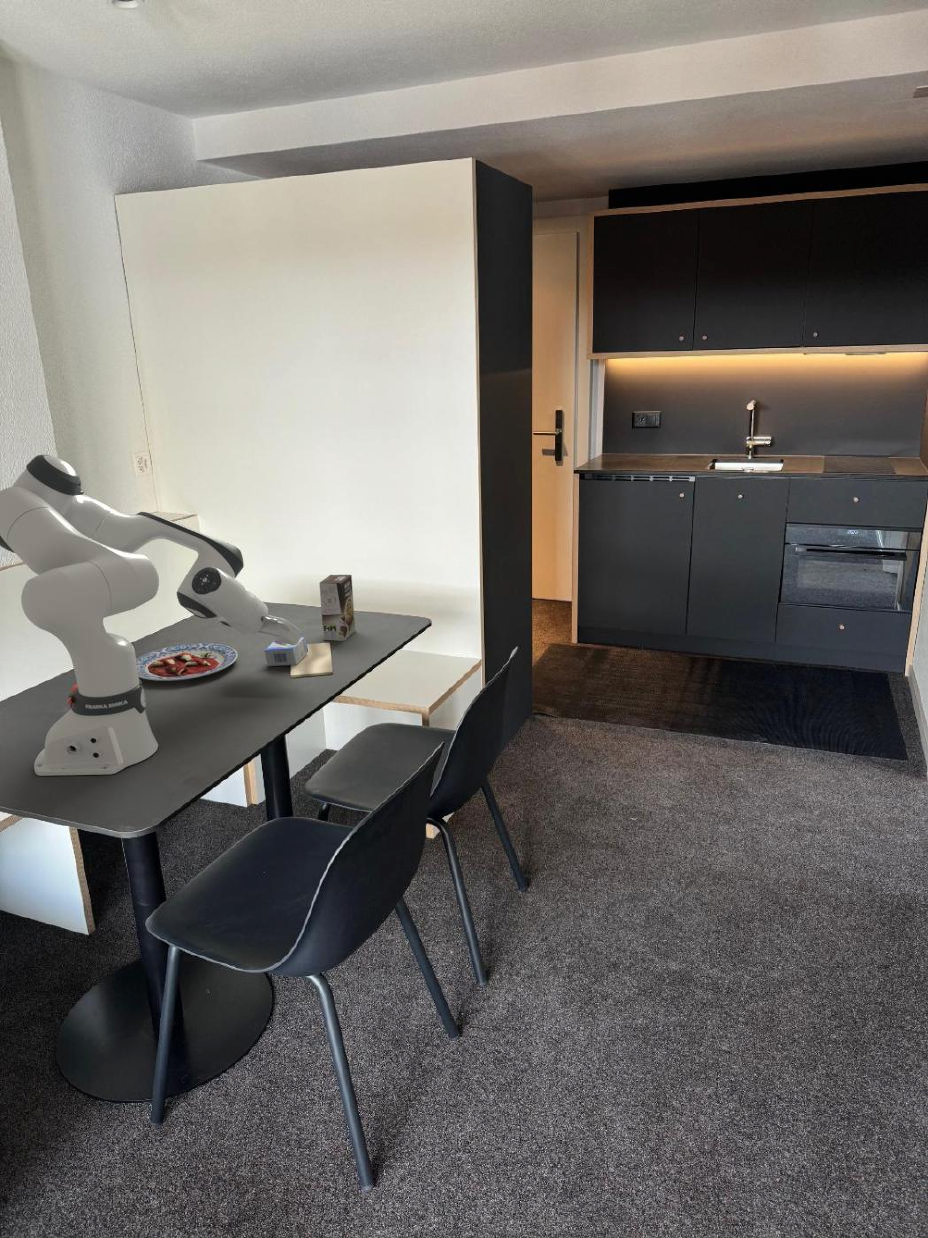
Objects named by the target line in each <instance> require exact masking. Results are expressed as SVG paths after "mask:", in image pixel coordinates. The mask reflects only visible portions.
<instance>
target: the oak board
mask: <svg viewBox="0 0 928 1238" xmlns="http://www.w3.org/2000/svg"><path fill="white" fill-rule="evenodd" d="M307 648H308V653H307V654H306V655H305V656H304V657H303V658H302V659H301V660H300V662H299V663H298V664H297V665H290V678H291V679H292V678H293V679H294V678H301V677H303V678H304V677H315V676H324V675H333V673H334V671H333V670H334V669H333V660H332V653H331V643H330V642H321V643H320V642H319V643H318V642H317V643H307Z"/></svg>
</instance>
